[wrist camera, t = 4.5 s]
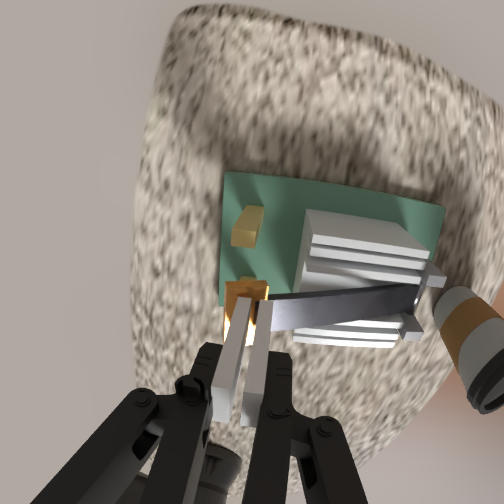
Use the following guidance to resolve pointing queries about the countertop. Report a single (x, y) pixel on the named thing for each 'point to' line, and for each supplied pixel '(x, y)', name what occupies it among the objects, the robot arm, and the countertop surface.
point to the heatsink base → (328, 247)
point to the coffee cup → (474, 345)
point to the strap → (320, 304)
